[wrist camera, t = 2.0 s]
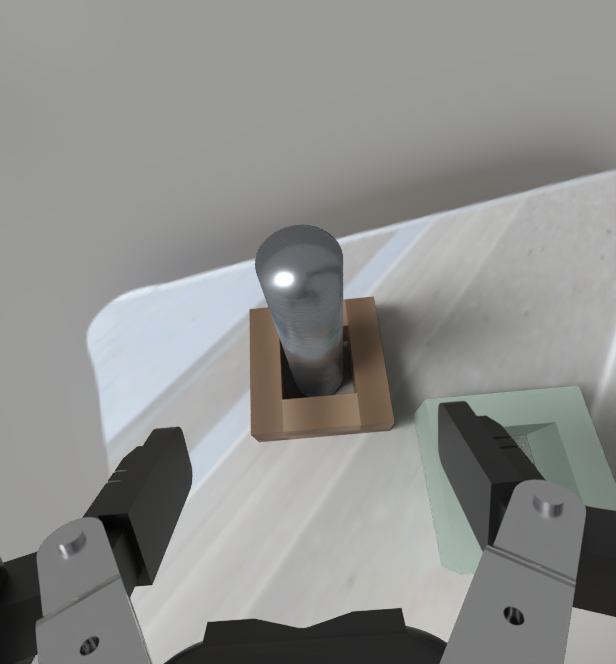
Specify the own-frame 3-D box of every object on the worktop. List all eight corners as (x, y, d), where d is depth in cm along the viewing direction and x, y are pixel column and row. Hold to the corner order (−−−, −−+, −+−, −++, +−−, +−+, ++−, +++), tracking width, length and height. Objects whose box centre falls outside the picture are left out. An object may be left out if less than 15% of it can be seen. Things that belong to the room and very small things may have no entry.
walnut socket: (371, 313, 34) (373, 296, 32) (389, 430, 30) (394, 421, 27) (256, 325, 35) (249, 309, 32) (259, 442, 31) (250, 434, 28)
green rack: (546, 403, 30) (578, 385, 26) (597, 554, 26) (644, 561, 22) (413, 415, 31) (424, 399, 26) (441, 565, 26) (459, 574, 22)
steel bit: (340, 349, 33) (338, 220, 19) (345, 395, 32) (348, 293, 17) (292, 354, 33) (254, 230, 19) (295, 400, 32) (255, 302, 17)
